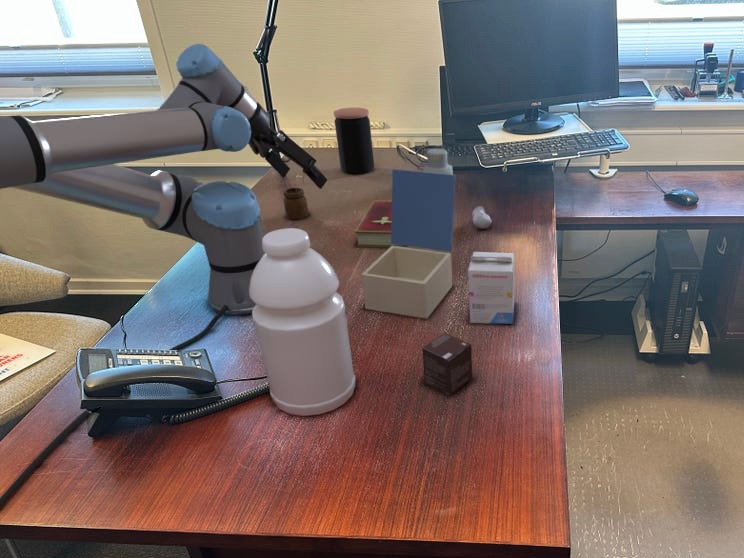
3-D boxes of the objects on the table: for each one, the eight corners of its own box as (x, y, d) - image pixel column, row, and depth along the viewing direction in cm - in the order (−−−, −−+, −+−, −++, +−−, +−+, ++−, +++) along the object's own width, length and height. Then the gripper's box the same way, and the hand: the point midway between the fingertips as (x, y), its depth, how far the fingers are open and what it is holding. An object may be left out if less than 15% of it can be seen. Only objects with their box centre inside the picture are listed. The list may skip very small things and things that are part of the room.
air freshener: (426, 178, 199) (424, 145, 193) (453, 178, 199) (452, 145, 193) (422, 190, 190) (420, 156, 184) (450, 190, 190) (449, 156, 184)
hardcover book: (418, 215, 174) (417, 200, 171) (405, 247, 156) (403, 231, 154) (375, 214, 175) (373, 199, 172) (356, 246, 157) (354, 230, 155)
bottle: (303, 361, 116) (274, 212, 100) (371, 377, 112) (352, 224, 96) (254, 406, 105) (212, 248, 89) (326, 426, 101) (296, 263, 85)
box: (447, 367, 114) (445, 331, 110) (473, 379, 111) (472, 343, 107) (423, 383, 110) (421, 347, 106) (449, 396, 107) (448, 359, 103)
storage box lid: (454, 175, 129) (455, 175, 130) (392, 169, 133) (394, 169, 133) (450, 251, 135) (451, 250, 135) (391, 243, 138) (392, 243, 139)
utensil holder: (310, 218, 173) (303, 173, 166) (286, 221, 171) (278, 176, 164) (307, 210, 177) (300, 167, 171) (283, 213, 176) (275, 170, 169)
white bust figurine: (489, 235, 165) (470, 230, 164) (488, 222, 172) (469, 217, 171) (495, 220, 163) (475, 214, 162) (493, 207, 169) (474, 202, 168)
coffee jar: (381, 168, 208) (375, 109, 198) (359, 177, 200) (352, 117, 190) (356, 163, 213) (349, 105, 202) (333, 171, 205) (325, 113, 195)
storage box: (427, 318, 128) (424, 283, 124) (365, 308, 132) (361, 274, 127) (452, 286, 140) (451, 253, 135) (394, 277, 143) (391, 245, 139)
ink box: (515, 304, 133) (516, 244, 125) (512, 325, 126) (514, 262, 118) (473, 302, 133) (472, 242, 126) (468, 323, 126) (467, 261, 119)
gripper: (291, 107, 129) (348, 176, 147) (219, 92, 142) (280, 156, 160) (270, 137, 128) (330, 202, 146) (200, 118, 141) (263, 180, 159)
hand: (304, 178), depth 153 cm, fingers open, 13 cm apart
